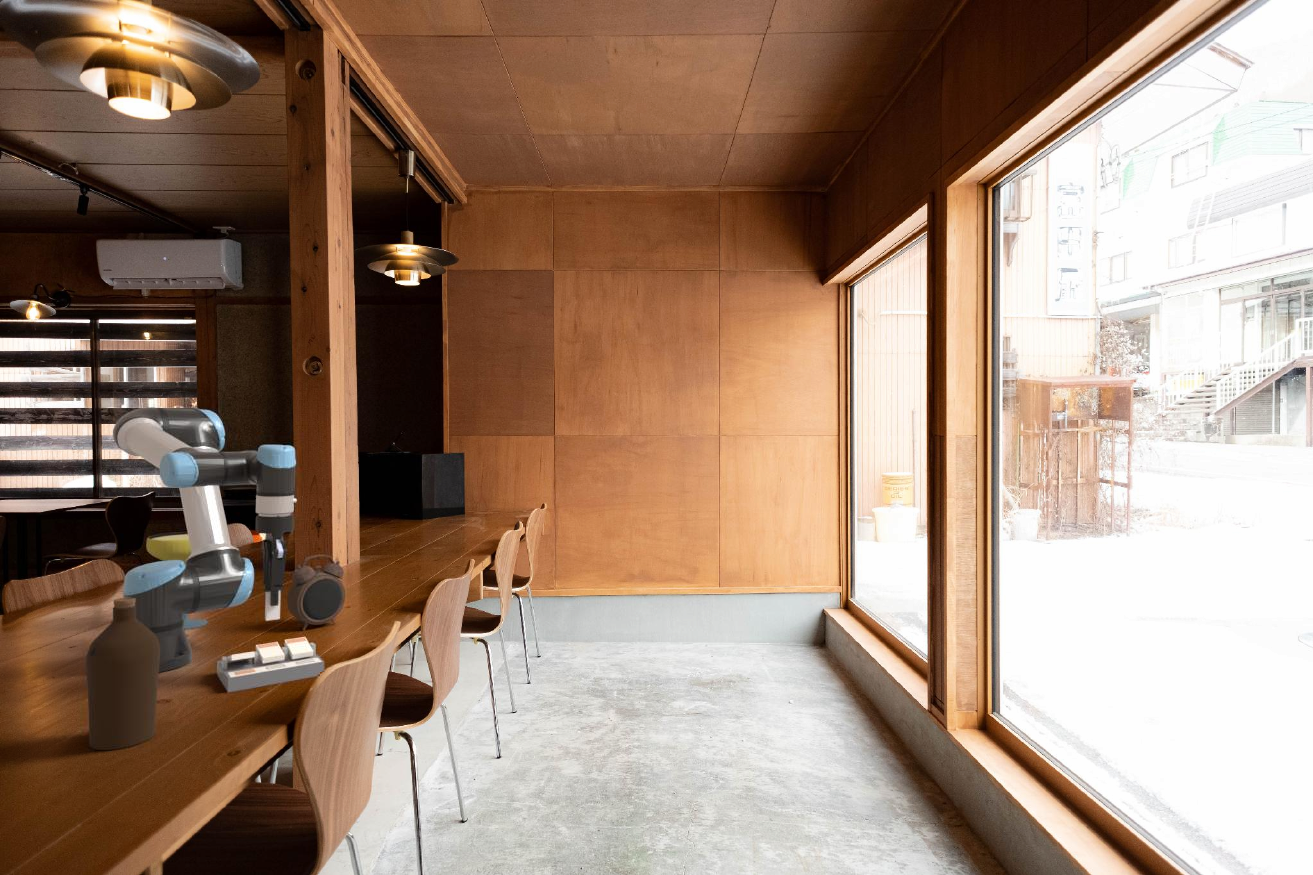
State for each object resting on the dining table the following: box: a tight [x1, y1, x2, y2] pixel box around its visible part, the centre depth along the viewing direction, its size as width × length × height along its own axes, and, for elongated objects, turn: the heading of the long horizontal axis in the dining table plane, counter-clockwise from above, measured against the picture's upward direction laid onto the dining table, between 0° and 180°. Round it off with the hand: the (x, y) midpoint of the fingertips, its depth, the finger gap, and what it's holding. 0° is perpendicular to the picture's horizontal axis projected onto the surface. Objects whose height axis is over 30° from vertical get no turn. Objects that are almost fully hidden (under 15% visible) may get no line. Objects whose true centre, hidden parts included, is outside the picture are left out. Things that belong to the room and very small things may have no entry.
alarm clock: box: [286, 554, 346, 631], centre depth 204 cm, size 15×7×20 cm, turn 143°
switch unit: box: [216, 642, 325, 693], centre depth 164 cm, size 19×14×5 cm
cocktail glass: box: [145, 531, 208, 631], centre depth 202 cm, size 18×18×25 cm
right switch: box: [284, 636, 313, 659], centre depth 169 cm, size 4×8×1 cm, turn 39°
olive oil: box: [85, 596, 160, 751], centre depth 129 cm, size 11×11×25 cm
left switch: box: [226, 651, 255, 663], centre depth 161 cm, size 4×8×1 cm, turn 39°
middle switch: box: [255, 641, 285, 663], centre depth 165 cm, size 4×8×1 cm, turn 39°
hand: (272, 618), depth 163 cm, fingers closed
